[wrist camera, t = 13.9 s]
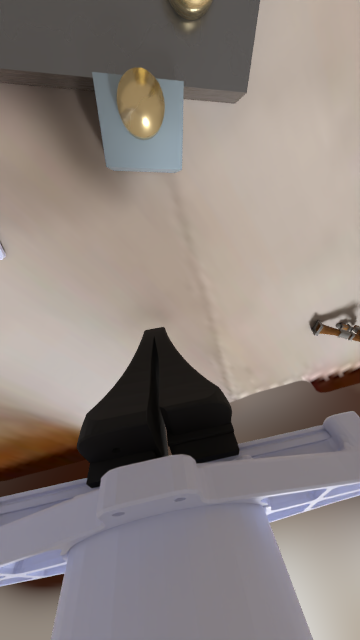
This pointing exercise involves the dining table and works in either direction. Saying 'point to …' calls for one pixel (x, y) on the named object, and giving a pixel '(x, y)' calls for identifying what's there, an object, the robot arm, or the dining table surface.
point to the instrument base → (130, 43)
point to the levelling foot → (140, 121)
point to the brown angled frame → (338, 331)
